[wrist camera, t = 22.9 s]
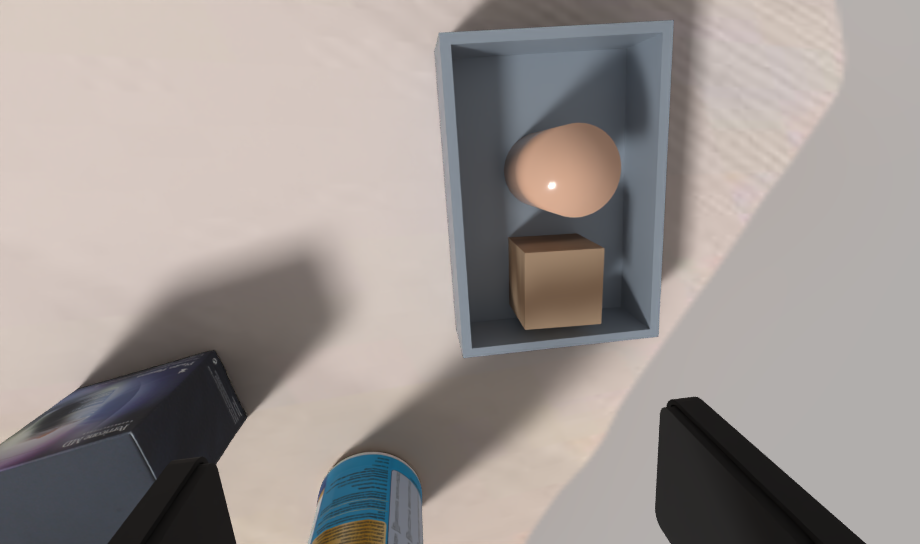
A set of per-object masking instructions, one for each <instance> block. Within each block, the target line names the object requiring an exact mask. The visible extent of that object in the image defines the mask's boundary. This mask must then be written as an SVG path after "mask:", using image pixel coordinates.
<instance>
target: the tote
mask: <svg viewBox="0 0 920 544" xmlns="http://www.w3.org/2000/svg"><path fill="white" fill-rule="evenodd" d="M673 25H674V20H666V21H647V22H629V23H611V24H592V25H574V26H556V27H537V28H519V29H500V30H482V31H464V32H445V33H439V34H438V38H437V43H436V47H435V51H434V52H435V65H436V78H437V90H438V103H439V116H440V129H441V142H442V154H443V167H444V180H445V193H446V206H447V218H448V231H449V244H450V257H451V270H452V282H453V295H454V308H455V321H456V330H457V334H458V339H459V343H460V347H461V351H462V355H463V358H469V357H478V356H487V355H496V354H505V353H514V352H523V351H532V350H542V349H551V348H560V347H569V346H578V345H587V344H596V343H605V342H614V341H623V340H632V339H641V338H651V337H658V335H659V314H660V294H661V273H662V252H663V232H664V211H665V191H666V170H667V149H668V129H669V108H670V87H671V67H672V46H673ZM571 123H587V124H591V125H594V126H596V127H598V128H600V129H602V130H603V131H605V132H606V133H607V134H608V135H609V136H610V137H611V139H612V140H613V141H614V143H615V145H616V147H617V149H618V151H619V155H620V160H621V176H620V180H619V183H618V186H617V189H616V191H615V193H614V194H613V196H612V197H611V199H610V200H609V201H608V202H607V203H606V204H605V205H604V206H603V207H602V208H600V209H599V210H598V211H596V212H594V213H592V214H589V215H587V216H583V217H565V216H561V215H558V214H555V213H552V212H549V211H546V210H542V209H539V208H536V207H533V206H530V205H527V204H524V203H522V202H521V201H519V200H518V199H517V198H515V197H514V196H513V194H512V193H511V192H510V190H509V188H508V186H507V184H506V181H505V177H504V165H505V160H506V157H507V155H508V152H509V151H510V149H511V148H512V146H513V145H514V144H515V143H516V142H517V141H518V140H519V139H521V138H522V137H524V136H526V135H528V134H530V133H534V132H538V131H542V130H547V129H551V128H555V127H559V126H563V125H567V124H571ZM575 233H577V234H579V235H581V236H583V237H585V238H586V239H588V240H590V241H592V242H594V243H596V244H598V245H600V246H601V247H603V248H605V249H604V272H603V295H602V318H601V324H594V325H581V326H568V327H555V328H542V329H530V330H525V329H524V327H523V326H522V324H521V322H520V321H519V319H518V318H517V316H516V314H515V313H514V311H513V310H512V308H511V306H510V305H509V255H508V237H524V236H541V235H558V234H575Z"/></svg>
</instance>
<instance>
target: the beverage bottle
mask: <svg viewBox="0 0 920 544" xmlns="http://www.w3.org/2000/svg"><path fill="white" fill-rule="evenodd" d="M308 544H423V525H422V488H421V484H420V481H419V479H418V476H417V475H416V473H415V472H414V470H413V469H412V468H411V467H410V466H409V465H408V464H407V463H406V462H404V461H403V460H401V459H400V458H398V457H396V456H393V455H390V454H387V453H382V452H364V453H359V454H355V455H352V456H350V457H347V458H345V459H344V460H342V461H340V462H339V463H338V464H336V465H335V466H334V467H333V468H332V469H331V470H330V471H329V472H328V474H327V475H326V477H325V478H324V480H323V482H322V485H321V488H320V491H319V495H318V501H317V509H316V513H315V517H314V521H313V525H312V529H311V533H310V537H309V540H308Z"/></svg>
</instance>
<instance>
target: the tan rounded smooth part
mask: <svg viewBox="0 0 920 544" xmlns="http://www.w3.org/2000/svg"><path fill="white" fill-rule="evenodd" d="M620 176H621V160H620V155H619V151H618V149H617V147H616V145H615V143H614V141H613V140H612V139H611V137H610V136H609V135H608V134H607V133H606V132H605V131H603V130H602V129H600V128H598V127H596V126H594V125H591V124H587V123H571V124H567V125H563V126H559V127H555V128H551V129H547V130H542V131H538V132H534V133H530V134H528V135H526V136H524V137H522V138H521V139H519V140H518V141H517V142H516V143H515V144H514V145H513V146H512V148H511V149H510V151H509V152H508V155H507V157H506V160H505V165H504V177H505V181H506V184H507V186H508V188H509V190H510V192H511V193H512V194H513V196H514V197H515V198H517V199H518V200H519V201H521V202H522V203H524V204H527V205H530V206H533V207H536V208H539V209H542V210H546V211H549V212H552V213H555V214H558V215H561V216H565V217H583V216H587V215H589V214H592V213H594V212H596V211H598V210H599V209H600V208H602V207H603V206H604V205H605V204H606V203H607V202H608V201H609V200H610V199H611V197H612V196H613V194H614V193H615V191H616V189H617V186H618V183H619V180H620Z"/></svg>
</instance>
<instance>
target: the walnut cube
mask: <svg viewBox="0 0 920 544" xmlns="http://www.w3.org/2000/svg"><path fill="white" fill-rule="evenodd" d="M604 249H605V248H603V247H601V246H600V245H598V244H596V243H594V242H592V241H590V240H588V239H586V238H585V237H583V236H581V235H579V234H577V233H575V234H558V235H541V236H524V237H508V255H509V305H510V306H511V308H512V310H513V311H514V313H515V314H516V316H517V318H518V319H519V321H520V322H521V324H522V326H523V327H524V329H525V330H530V329H542V328H555V327H568V326H581V325H594V324H601V318H602V295H603V272H604Z"/></svg>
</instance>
